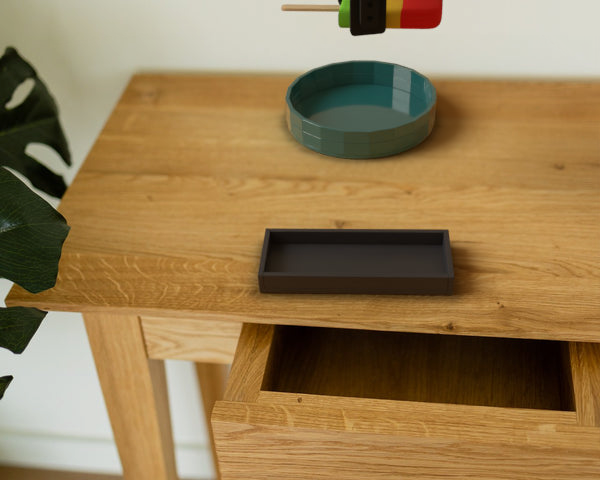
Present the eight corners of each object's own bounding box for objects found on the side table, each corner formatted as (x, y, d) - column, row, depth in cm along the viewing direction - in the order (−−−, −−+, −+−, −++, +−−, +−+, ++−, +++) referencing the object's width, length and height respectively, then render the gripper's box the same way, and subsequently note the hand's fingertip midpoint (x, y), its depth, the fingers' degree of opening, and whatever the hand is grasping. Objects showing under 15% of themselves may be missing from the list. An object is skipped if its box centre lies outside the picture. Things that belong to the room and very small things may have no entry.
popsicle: (441, 31, 68) (442, 10, 67) (277, 28, 71) (275, 8, 69) (442, 7, 72) (443, -13, 71) (286, 5, 75) (285, -14, 73)
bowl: (432, 86, 97) (434, 60, 95) (436, 160, 84) (438, 132, 82) (295, 85, 99) (294, 59, 97) (279, 157, 86) (277, 130, 84)
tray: (446, 246, 73) (448, 229, 72) (452, 295, 68) (454, 277, 67) (267, 245, 75) (265, 228, 73) (259, 292, 69) (257, 275, 68)
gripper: (436, -192, 53) (421, 53, 65) (387, -230, 66) (382, -19, 78) (330, -184, 53) (334, 62, 65) (301, -223, 65) (309, -12, 77)
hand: (360, 16), depth 71 cm, fingers closed on popsicle, 6 cm apart
